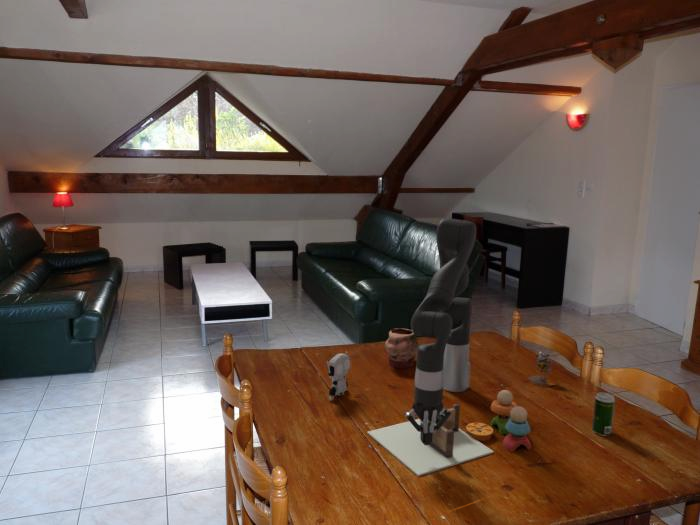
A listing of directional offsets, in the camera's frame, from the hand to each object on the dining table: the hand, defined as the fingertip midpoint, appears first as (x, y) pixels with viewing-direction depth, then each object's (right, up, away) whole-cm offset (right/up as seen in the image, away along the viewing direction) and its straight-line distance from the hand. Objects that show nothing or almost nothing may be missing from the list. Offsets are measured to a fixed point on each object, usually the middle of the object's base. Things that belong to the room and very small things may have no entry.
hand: (426, 443), depth 153 cm
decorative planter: (0, +8, +73) cm, 74 cm away
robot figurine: (+51, +4, +56) cm, 76 cm away
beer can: (+56, -3, +19) cm, 59 cm away
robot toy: (-24, +3, +42) cm, 48 cm away
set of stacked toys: (+24, -3, +14) cm, 28 cm away
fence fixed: (+6, -2, +15) cm, 17 cm away
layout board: (+2, -3, +11) cm, 12 cm away
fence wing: (+5, -3, +6) cm, 8 cm away
